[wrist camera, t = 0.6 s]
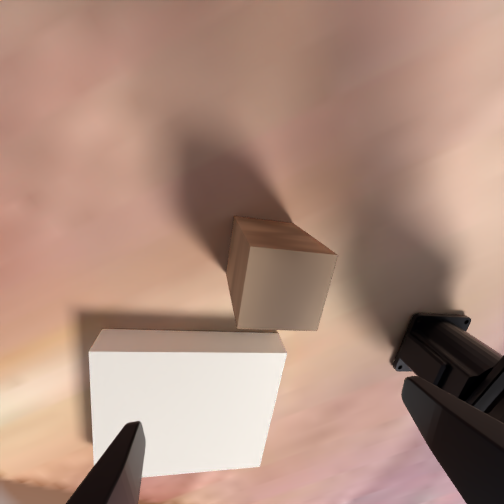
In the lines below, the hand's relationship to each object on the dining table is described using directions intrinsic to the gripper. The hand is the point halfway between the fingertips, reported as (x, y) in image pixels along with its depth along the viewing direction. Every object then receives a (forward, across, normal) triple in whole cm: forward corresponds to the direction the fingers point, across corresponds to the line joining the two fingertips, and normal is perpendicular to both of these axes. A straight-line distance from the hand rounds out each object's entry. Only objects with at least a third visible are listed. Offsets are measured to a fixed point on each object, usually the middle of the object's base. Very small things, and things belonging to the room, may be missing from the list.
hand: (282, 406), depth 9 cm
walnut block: (+12, -2, -1) cm, 12 cm away
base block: (+12, +5, +12) cm, 17 cm away
